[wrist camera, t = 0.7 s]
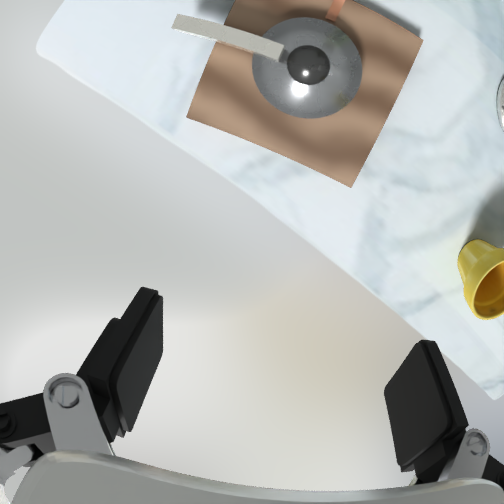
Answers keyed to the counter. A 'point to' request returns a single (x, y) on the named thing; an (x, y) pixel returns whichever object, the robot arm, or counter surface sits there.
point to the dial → (293, 62)
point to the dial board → (301, 129)
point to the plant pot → (483, 278)
